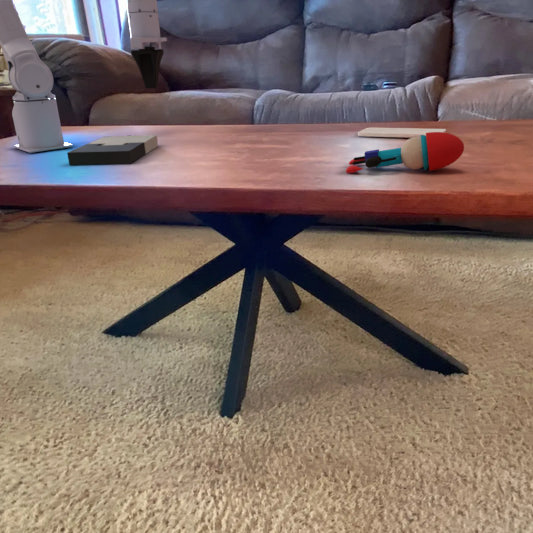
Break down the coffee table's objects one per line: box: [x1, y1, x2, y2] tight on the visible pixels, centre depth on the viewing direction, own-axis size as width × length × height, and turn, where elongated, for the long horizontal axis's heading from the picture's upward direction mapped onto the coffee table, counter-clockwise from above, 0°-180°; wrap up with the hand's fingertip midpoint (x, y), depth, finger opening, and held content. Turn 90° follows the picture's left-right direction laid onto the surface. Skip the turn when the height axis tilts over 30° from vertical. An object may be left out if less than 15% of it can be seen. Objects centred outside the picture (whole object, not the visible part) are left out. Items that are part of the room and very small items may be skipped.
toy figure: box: [345, 132, 465, 174], centre depth 68 cm, size 8×5×15 cm
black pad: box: [66, 142, 146, 166], centre depth 83 cm, size 8×10×2 cm
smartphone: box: [357, 127, 447, 138], centre depth 95 cm, size 7×1×15 cm
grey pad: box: [87, 134, 159, 155], centre depth 90 cm, size 10×10×2 cm
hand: (151, 88), depth 103 cm, fingers closed
